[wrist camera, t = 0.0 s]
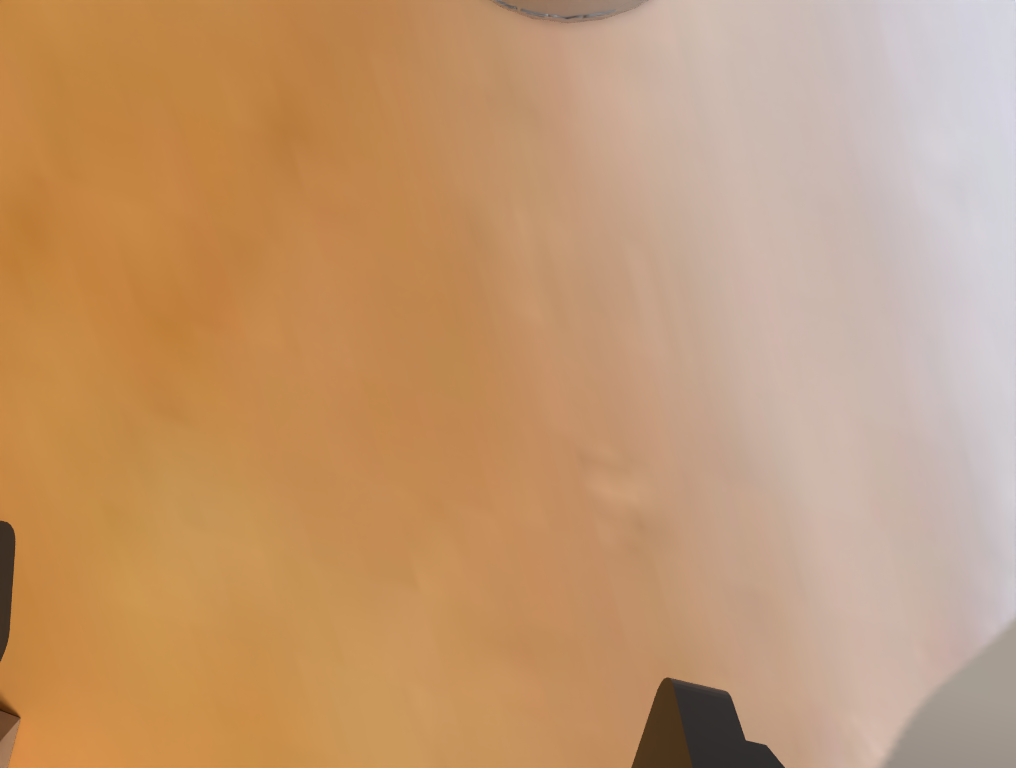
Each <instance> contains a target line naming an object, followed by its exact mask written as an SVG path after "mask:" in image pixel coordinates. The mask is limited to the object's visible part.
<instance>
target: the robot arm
mask: <svg viewBox="0 0 1016 768" xmlns="http://www.w3.org/2000/svg"><path fill="white" fill-rule="evenodd" d="M491 1H493V2H494V3H496V4H497V5H499V6H500V7H503V8H505V9H508V10H511V11H513V12H516V13H519V14H521V15H524V16H527V17H530V18H532V19H539V20H546V21H554V22H562V23H573V22H582V21H592V20H601V19H605V18H608V17H610V16H613V15H616V14H619V13H622V12H625V11H628V10H631V9H634V8H636V7H638V6H640V5H641V4H643V3H645V2H646V1H648V0H491ZM14 557H15V533H14V530H13V528H12V526H11V525H10V524H9V523H7V522H4V521H0V661H1V659H2V657H3V654H4V652H5V649H6V646H7V642H8V638H9V631H10V616H11V601H12V586H13V571H14ZM632 768H785V767H784V766H783V765H782V764H781V763H780V761H779V760H778V759H777V758H776V756H775V755H774V754H773V753H772V751H771V750H770V749H769V748H768V747H767V745H763V744H759V743H755V742H750V741H746V740H745V737H744V734H743V731H742V728H741V725H740V722H739V719H738V716H737V713H736V710H735V707H734V704H733V701H732V698H731V696H730V695H729V693H728V692H726V691H724V690H719V689H715V688H711V687H706V686H702V685H698V684H693V683H689V682H685V681H681V680H676V679H672V678H665V679H664V680H663V681H662V682H661V684H660V686H659V688H658V690H657V693H656V696H655V699H654V702H653V705H652V708H651V711H650V714H649V717H648V720H647V723H646V726H645V729H644V732H643V735H642V738H641V741H640V744H639V747H638V750H637V753H636V756H635V759H634V762H633V765H632Z"/></svg>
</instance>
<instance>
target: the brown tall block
mask: <svg viewBox="0 0 1016 768" xmlns="http://www.w3.org/2000/svg"><path fill="white" fill-rule="evenodd" d="M19 722H20V718H19V717H16V716H13V715H11V714H8V713H5V712H3V711H0V768H8V764H9V761H10V757H11V753H12V749H13V745H14V741H15V737H16V734H17V730H18V726H19Z"/></svg>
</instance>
